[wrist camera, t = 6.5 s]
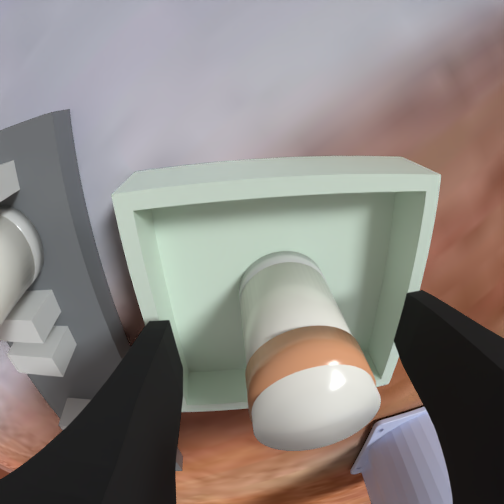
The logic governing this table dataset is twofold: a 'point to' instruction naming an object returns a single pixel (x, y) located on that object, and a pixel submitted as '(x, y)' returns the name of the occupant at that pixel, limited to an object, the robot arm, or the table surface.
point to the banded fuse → (301, 357)
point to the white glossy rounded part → (17, 257)
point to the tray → (269, 241)
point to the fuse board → (59, 272)
